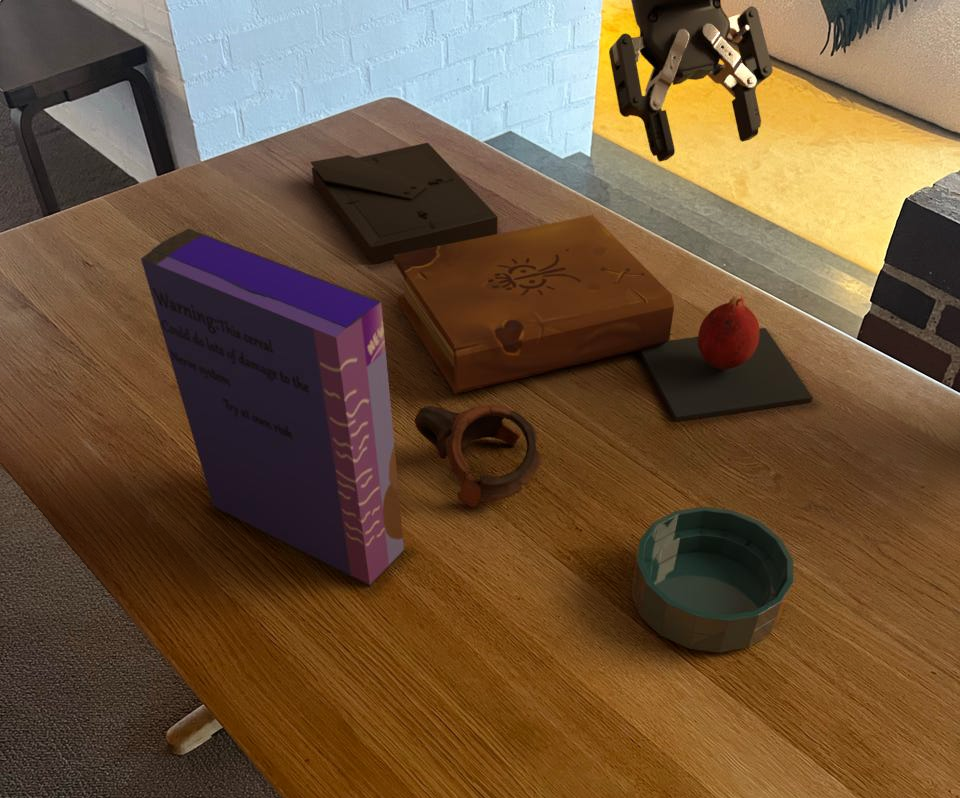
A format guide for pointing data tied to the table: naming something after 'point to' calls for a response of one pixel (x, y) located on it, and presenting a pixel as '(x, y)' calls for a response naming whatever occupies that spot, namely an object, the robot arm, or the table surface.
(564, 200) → the table surface
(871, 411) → the table surface
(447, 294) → the diary
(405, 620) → the table surface
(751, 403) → the mat
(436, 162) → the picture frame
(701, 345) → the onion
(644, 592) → the bowl
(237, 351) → the purple book
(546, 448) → the table surface
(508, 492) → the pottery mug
